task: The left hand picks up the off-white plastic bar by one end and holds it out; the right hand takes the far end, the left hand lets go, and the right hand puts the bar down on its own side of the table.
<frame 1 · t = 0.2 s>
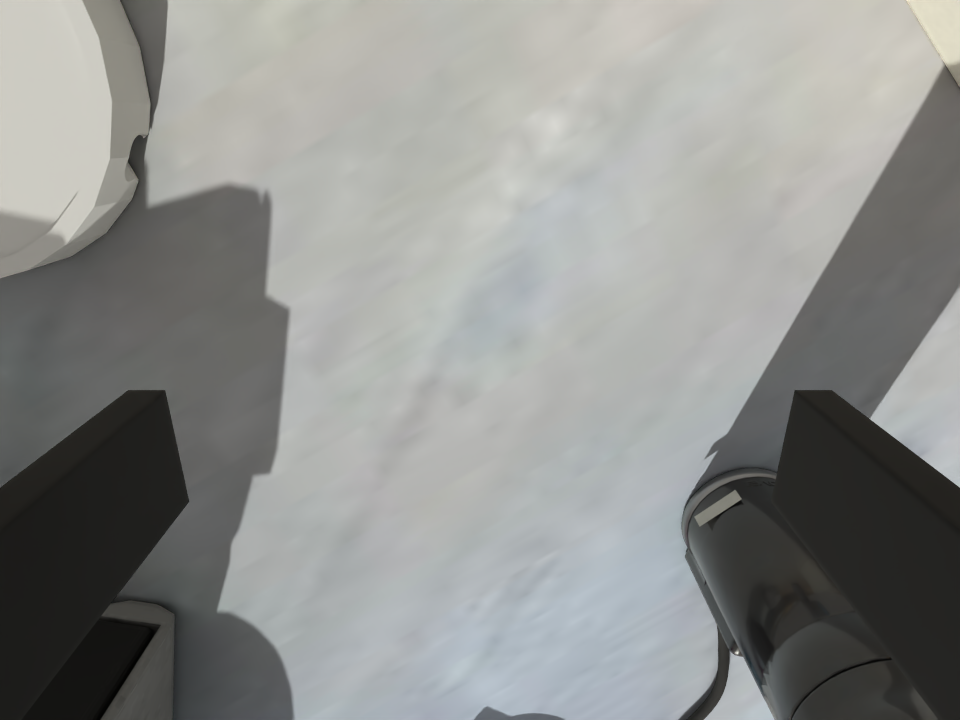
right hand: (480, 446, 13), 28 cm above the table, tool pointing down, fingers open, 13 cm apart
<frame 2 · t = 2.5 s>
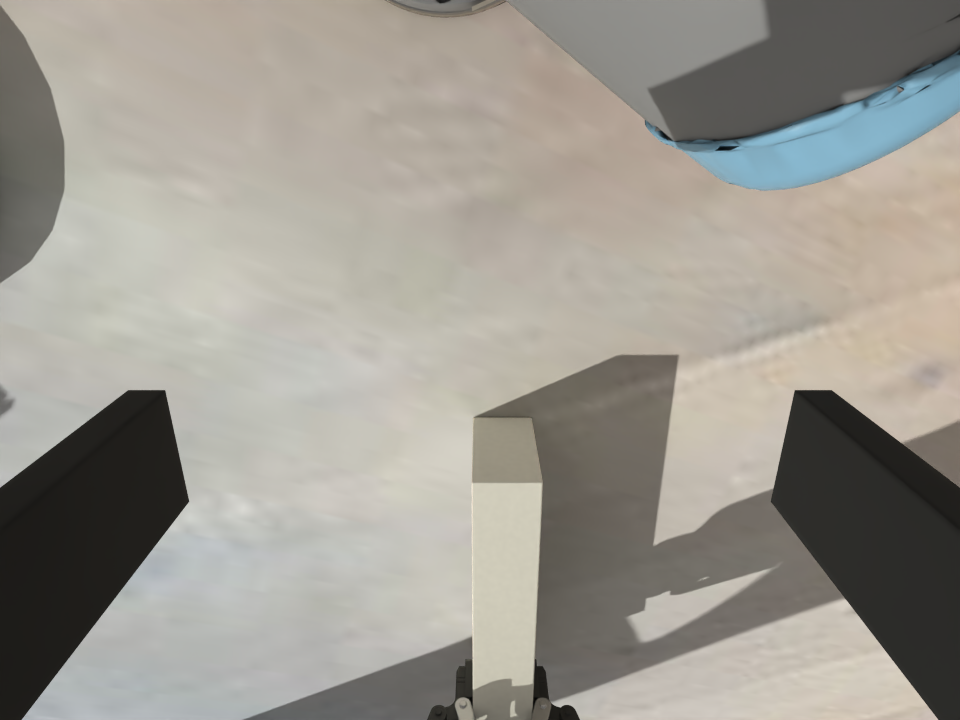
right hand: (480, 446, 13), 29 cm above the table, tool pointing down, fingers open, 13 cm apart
bar: (500, 546, 49), on the table, touching left hand
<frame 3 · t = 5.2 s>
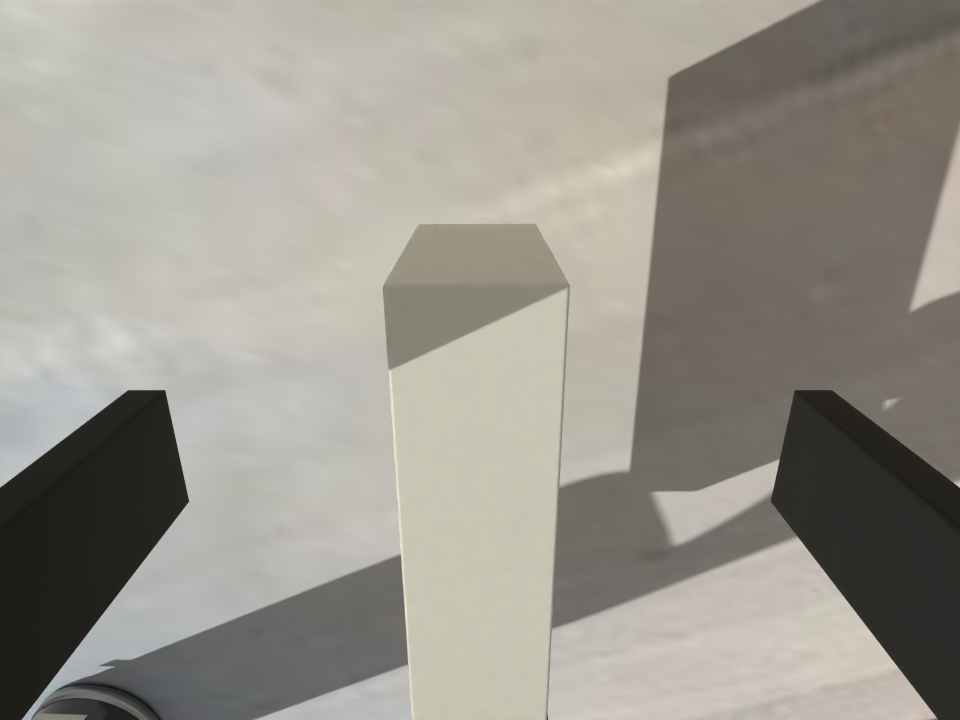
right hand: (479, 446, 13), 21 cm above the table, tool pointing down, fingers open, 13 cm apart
bar: (478, 495, 27), point 10 cm above the table, touching left hand
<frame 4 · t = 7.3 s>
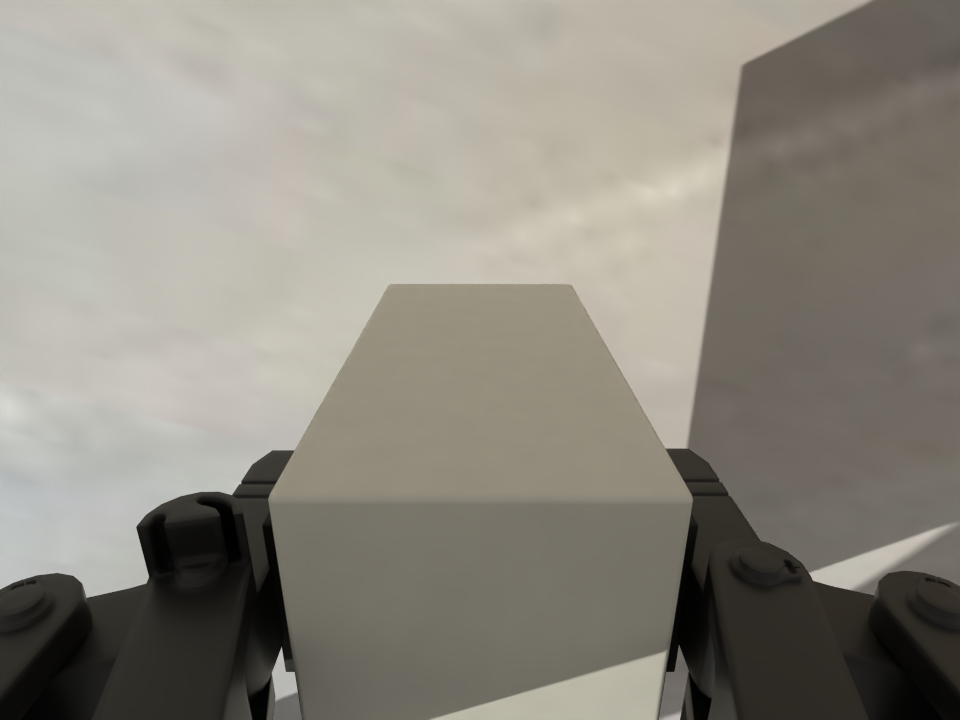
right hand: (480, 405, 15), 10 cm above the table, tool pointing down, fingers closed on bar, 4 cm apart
bar: (479, 656, 19), point 10 cm above the table, touching right hand, left hand
when the left hand's fingers open (14 cm above the table, at t = 7.9 s): bar stays where it is, held by the right hand.
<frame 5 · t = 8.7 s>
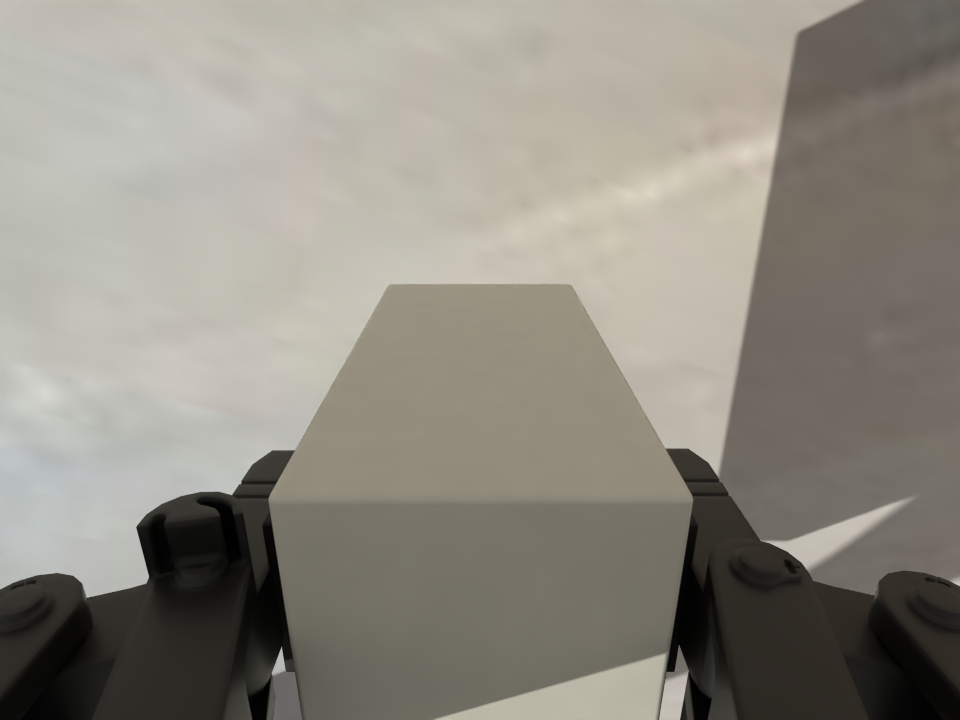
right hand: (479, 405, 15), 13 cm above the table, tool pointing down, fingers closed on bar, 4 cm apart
bar: (479, 657, 19), point 12 cm above the table, touching right hand
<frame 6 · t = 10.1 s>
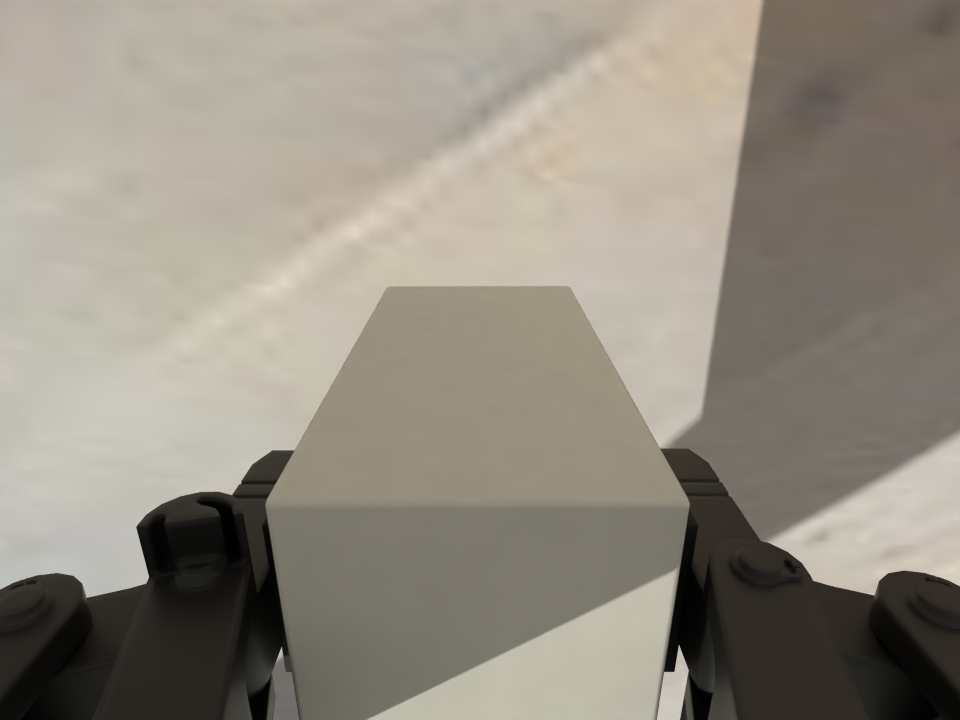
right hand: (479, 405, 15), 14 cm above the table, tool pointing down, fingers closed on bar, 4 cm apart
bar: (479, 658, 19), point 13 cm above the table, touching right hand
when the right hand's fingers open (2 cm above the table, at t = 13.1 s): bar drops 2 cm, on the table.
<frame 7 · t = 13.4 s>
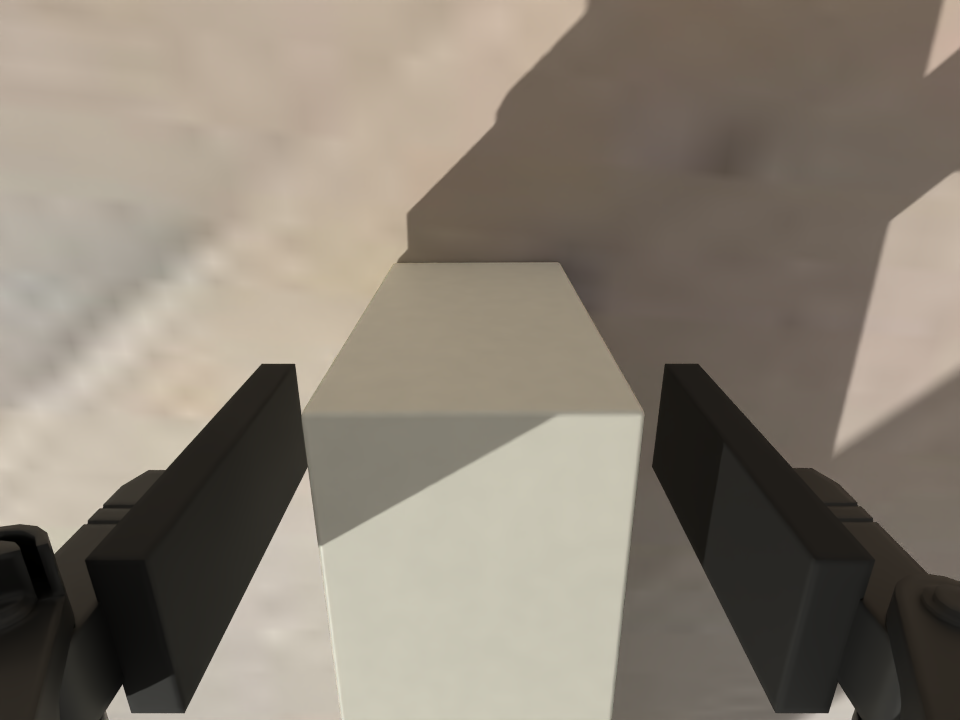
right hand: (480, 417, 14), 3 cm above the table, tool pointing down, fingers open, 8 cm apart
bar: (479, 612, 20), on the table
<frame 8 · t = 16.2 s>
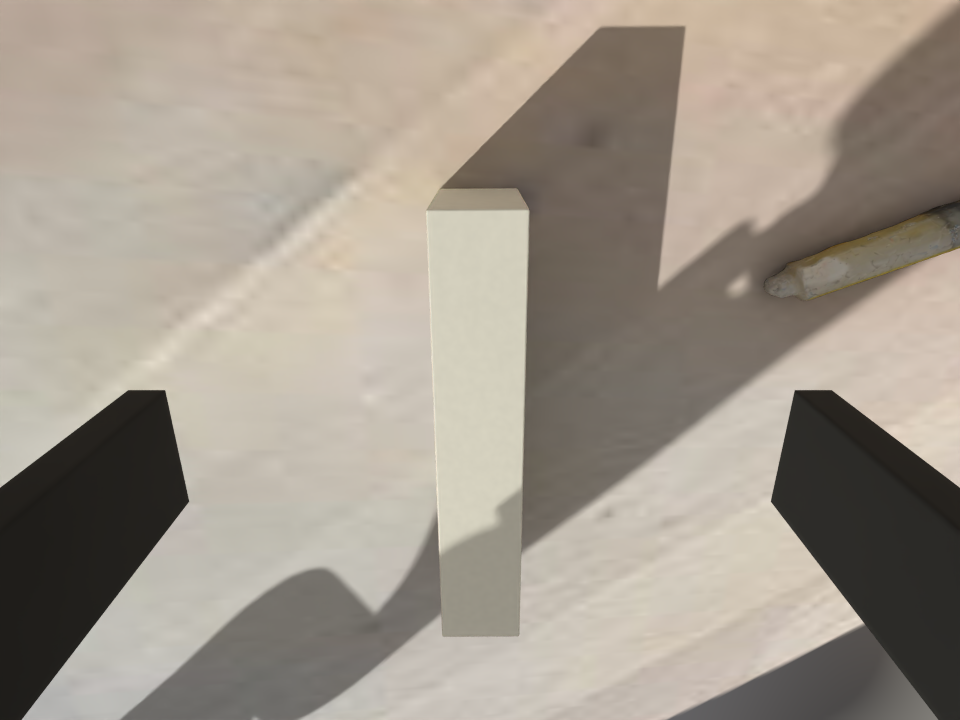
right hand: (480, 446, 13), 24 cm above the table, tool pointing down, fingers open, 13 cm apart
bar: (479, 383, 38), on the table
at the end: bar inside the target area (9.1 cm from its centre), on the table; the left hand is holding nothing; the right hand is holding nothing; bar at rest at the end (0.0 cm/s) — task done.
